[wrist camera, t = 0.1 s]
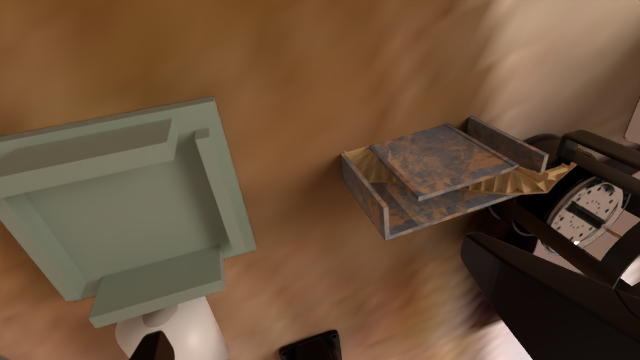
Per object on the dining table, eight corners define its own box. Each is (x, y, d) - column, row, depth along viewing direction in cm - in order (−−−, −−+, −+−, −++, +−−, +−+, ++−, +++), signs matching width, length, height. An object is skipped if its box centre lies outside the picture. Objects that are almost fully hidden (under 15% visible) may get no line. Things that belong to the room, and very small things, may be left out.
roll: (226, 323, 30) (231, 388, 25) (158, 345, 29) (149, 418, 24) (203, 268, 26) (203, 333, 22) (123, 291, 25) (104, 366, 20)
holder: (255, 241, 26) (263, 283, 23) (78, 290, 24) (56, 346, 20) (213, 96, 20) (215, 122, 16) (-34, 142, 18) (-98, 186, 14)
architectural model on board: (468, 109, 27) (581, 163, 19) (465, 142, 28) (567, 205, 20) (337, 146, 25) (400, 223, 17) (342, 179, 27) (401, 264, 19)
